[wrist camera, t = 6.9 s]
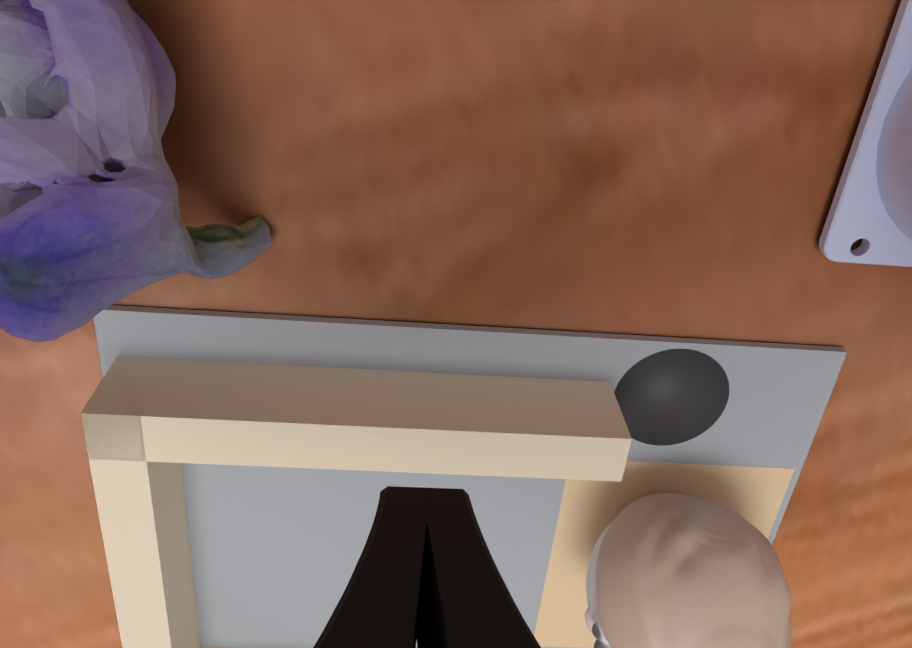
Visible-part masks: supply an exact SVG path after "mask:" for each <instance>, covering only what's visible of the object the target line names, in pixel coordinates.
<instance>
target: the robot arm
mask: <svg viewBox="0 0 912 648" xmlns="http://www.w3.org/2000/svg"><path fill="white" fill-rule="evenodd" d="M862 238H863V240H862V243H861V245H860V246H859V247H858V248H856V249H855V250H850V249H851V245H852V244H853V242H855V241H856V240H858V239H862ZM819 249H820V252H821V253H822V254H823V255H824V256H826V257H827V258H828V259H829V260H831V261H834V262H844V263H859V264H874V265H889V266H904V267H912V0H901V3H900V6H899V9H898V12H897V15H896V18H895V20H894V23H893V26H892V29H891V32H890V35H889V38H888V41H887V44H886V47H885V50H884V53H883V56H882V58H881V61H880V64H879V67H878V70H877V73H876V76H875V79H874V82H873V85H872V88H871V91H870V94H869V96H868V99H867V102H866V105H865V108H864V111H863V114H862V117H861V120H860V123H859V126H858V129H857V132H856V135H855V137H854V140H853V143H852V146H851V149H850V152H849V155H848V158H847V161H846V164H845V167H844V170H843V173H842V175H841V178H840V181H839V184H838V187H837V190H836V193H835V196H834V199H833V202H832V205H831V208H830V211H829V213H828V216H827V219H826V222H825V225H824V228H823V231H822V234H821V237H820V240H819ZM416 641H417V648H541V647H540V645H539V644H538V642H537V640H536V639H535V637H534V635H533V634H532V632H531V630H530V628H529V627H528V625H527V623H526V622H525V620H524V618H523V616H522V615H521V613H520V611H519V609H518V607H517V606H516V604H515V602H514V600H513V598H512V596H511V594H510V592H509V590H508V588H507V586H506V584H505V582H504V580H503V578H502V576H501V574H500V573H499V571H498V569H497V566H496V564H495V562H494V560H493V558H492V556H491V554H490V551H489V549H488V547H487V544H486V542H485V540H484V537H483V535H482V532H481V530H480V527H479V525H478V522H477V519H476V516H475V514H474V510H473V507H472V504H471V501H470V497H469V494H468V493H467V492H466V491H465V490H464V489H450V488H423V487H396V486H387V487H386V488H385V489H383V490H382V491H380V497H379V503H378V507H377V511H376V515H375V518H374V522H373V525H372V528H371V530H370V533H369V536H368V538H367V541H366V544H365V546H364V549H363V551H362V553H361V556H360V558H359V560H358V562H357V565H356V567H355V569H354V571H353V574H352V576H351V578H350V580H349V582H348V585H347V587H346V589H345V591H344V593H343V595H342V596H341V598H340V600H339V602H338V604H337V606H336V608H335V610H334V611H333V613H332V615H331V617H330V619H329V621H328V623H327V624H326V626H325V628H324V630H323V632H322V634H321V635H320V637H319V639H318V640H317V642H316V644H315V645H314V647H313V648H416Z"/></svg>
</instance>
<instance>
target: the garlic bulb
mask: <svg viewBox="0 0 912 648" xmlns="http://www.w3.org/2000/svg"><path fill="white" fill-rule="evenodd" d="M586 595H587V604H588V608H587V610H586V612H585V622H586V625H587V628H588V630H589V631H590V632H591V633H592V634H593V635H594V637H595V638H596V639H597V640H596V641H595V643H594V648H791V639H792V621H791V616H790V612H789V611H790V602H791V595H790V589H789V586H788V583H787V581H786V578H785V576H784V573H783V570H782V567H781V565H780V562H779V559H778V556H777V554H776V552H775V550H774V548H773V546H772V545H771V543H770V542H769V540H768V539H767V538H766V537H765V536H764V535H763V534H762V533H761V532H760V531H759V530H758V529H757V528H756V527H755V526H753V525H752V524H751V523H749V522H748V521H747V520H746V519H745V518H744V517H743V516H741V515H740V514H739V513H737V512H736V511H734V510H732V509H731V508H728V507H726V506H724V505H722V504H719V503H716V502H713V501H709V500H705V499H701V498H695V497H690V496H686V495H682V494H677V493H659V494H653V495H648V496H644V497H641V498H639V499H637V500H635V501H634V502H632V503H630V504H629V505H628V506H627V507H625V508H624V509H623V510H622V511H621V512H620V513H619V515H618V516H617V517H616V518H615V519H614V521H612V522H611V523H610V524H609V525H608V527H607V528H606V529H605V530H604V531H603V533H602V534H601V536H600V537H599V539H598V541H597V542H596V544H595V546H594V549H593V551H592V554H591V557H590V561H589V565H588V570H587V578H586Z"/></svg>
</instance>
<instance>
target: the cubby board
mask: <svg viewBox="0 0 912 648" xmlns="http://www.w3.org/2000/svg"><path fill="white" fill-rule="evenodd" d="M93 318H94V324H95V330H96V337H97V343H98V349H99V356H100V362H101V368H102V375H103V379H102V381H101V382H100V384H99V385H98V387H97V388H96V390H95V392H94V393H93V395H92V396H91V398H90V399H89V401H88V402H87V404H86V406H85V407H84V409H83V410H82V412H81V419H82V424H83V430H84V435H85V441H86V446H87V452H88V458H89V463H90V469H91V474H92V480H93V486H94V491H95V497H96V502H97V508H98V513H99V519H100V525H101V530H102V536H103V541H104V547H105V553H106V558H107V564H108V569H109V575H110V581H111V586H112V592H113V597H114V603H115V608H116V614H117V620H118V625H119V631H120V636H121V642H122V648H313V647H314V645H315V644H316V642H317V640H318V639H319V637H320V635H321V634H322V632H323V630H324V628H325V626H326V624H327V623H328V621H329V619H330V617H331V615H332V613H333V611H334V610H335V608H336V606H337V604H338V602H339V600H340V598H341V596H342V595H343V593H344V591H345V589H346V587H347V585H348V582H349V580H350V578H351V576H352V574H353V571H354V569H355V567H356V565H357V562H358V560H359V558H360V556H361V553H362V551H363V549H364V546H365V544H366V541H367V538H368V536H369V533H370V530H371V528H372V525H373V522H374V518H375V515H376V511H377V507H378V503H379V497H380V491H382V490H383V489H385V488H386V487H387V486H396V487H423V488H450V489H464V490H465V491H466V492H467V493H468V494H469V497H470V501H471V504H472V507H473V510H474V514H475V516H476V519H477V522H478V525H479V527H480V530H481V532H482V535H483V537H484V540H485V542H486V544H487V547H488V549H489V551H490V554H491V556H492V558H493V560H494V562H495V564H496V566H497V569H498V571H499V573H500V574H501V576H502V578H503V580H504V582H505V584H506V586H507V588H508V590H509V592H510V594H511V596H512V598H513V600H514V602H515V604H516V606H517V607H518V609H519V611H520V613H521V615H522V616H523V618H524V620H525V622H526V623H527V625H528V627H529V628H530V630H531V632H532V634H533V635H534V637H535V639H536V640H537V642H538V644H539V645H540V647H541V648H594V643H595V641H596V640H597V639H596V638H595V637H594V635H593V634H592V633H591V632H590V631H589V630H588V628H587V625H586V622H585V612H586V610H587V608H588V604H587V595H586V578H587V570H588V565H589V561H590V557H591V554H592V551H593V549H594V546H595V544H596V542H597V541H598V539H599V537H600V536H601V534H602V533H603V531H604V530H605V529H606V528H607V527H608V525H609V524H610V523H611V522H612V521H614V519H615V518H616V517H617V516H618V515H619V513H620V512H621V511H622V510H623V509H624V508H625V507H627V506H628V505H629V504H630V503H632V502H634V501H635V500H637V499H639V498H641V497H644V496H648V495H653V494H659V493H677V494H682V495H686V496H690V497H695V498H701V499H705V500H709V501H713V502H716V503H719V504H722V505H724V506H726V507H728V508H731V509H732V510H734V511H736V512H737V513H739V514H740V515H741V516H743V517H744V518H745V519H746V520H747V521H748V522H749V523H751V524H752V525H753V526H755V527H756V528H757V529H758V530H759V531H760V532H761V533H762V534H763V535H764V536H765V537H766V538H767V539H768V540H769V542H770V543H771V545H772V544H773V541H774V539H775V536H776V533H777V531H778V528H779V526H780V523H781V521H782V518H783V515H784V513H785V510H786V508H787V505H788V503H789V500H790V498H791V495H792V492H793V490H794V487H795V485H796V482H797V480H798V477H799V475H800V472H801V469H802V467H803V464H804V462H805V459H806V457H807V454H808V451H809V449H810V446H811V444H812V441H813V439H814V436H815V434H816V431H817V428H818V426H819V423H820V421H821V418H822V416H823V413H824V410H825V408H826V405H827V403H828V400H829V398H830V395H831V393H832V390H833V387H834V385H835V382H836V380H837V377H838V375H839V372H840V370H841V367H842V364H843V362H844V359H845V357H846V354H847V351H846V350H845V349H844V348H843V347H833V346H816V345H799V344H781V343H764V342H746V341H729V340H712V339H694V338H677V337H659V336H642V335H624V334H607V333H590V332H572V331H555V330H537V329H520V328H503V327H485V326H468V325H450V324H433V323H415V322H398V321H381V320H363V319H346V318H328V317H311V316H294V315H276V314H259V313H241V312H224V311H206V310H189V309H172V308H154V307H137V306H119V305H111V306H109V307H108V308H106V309H104V310H103V311H101V312H100V313H98V314H97V315H96V316H95V317H93ZM416 648H417V641H416Z"/></svg>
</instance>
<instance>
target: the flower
mask: <svg viewBox="0 0 912 648" xmlns="http://www.w3.org/2000/svg"><path fill="white" fill-rule="evenodd" d="M175 93H176V78H175V71H174V69H173V67H172V65H171V63H170V61H169V59H168V56H167V54H166V52H165V51H164V49H163V47H162V46H161V44H160V43H159V41H158V40H157V38H156V37H155V35H154V34H153V32H152V31H151V29H150V28H149V27H148V25H147V24H146V23H145V22H144V21H143V20H142V19H141V18H140V17H139V16H138V15H137V14H136V13H135V12H134V10H133V9H132V8H131V7H130V5H129V3H128V1H127V0H0V328H1V329H3V330H4V331H6V332H7V333H9V334H10V335H12V336H15V337H19V338H23V339H26V340H30V341H34V342H43V341H50V340H55V339H57V338H59V337H60V336H62V335H64V334H66V333H68V332H70V331H72V330H75V329H77V328H79V327H81V326H83V325H84V324H86V323H87V322H88V321H90V320H91V319H92V318H93V317H95V316H96V315H97V314H98V313H100V312H101V311H103V310H104V309H106V308H108V307H109V306H111V305H113V304H115V303H116V302H118V301H120V300H122V299H123V298H125V297H127V296H128V295H130V294H132V293H134V292H135V291H137V290H139V289H142V288H144V287H146V286H148V285H150V284H152V283H154V282H156V281H159V280H161V279H164V278H168V277H171V276H174V275H177V274H180V273H183V272H188V273H190V274H191V275H195V276H200V277H204V278H209V279H214V278H220V277H223V276H226V275H229V274H231V273H234V272H237V271H238V270H240V269H242V268H243V267H245V266H246V265H248V264H250V263H251V262H252V261H253V260H255V259H256V258H257V257H258V256H260V255H261V254H262V253H263V252H265V251H266V250H267V249H268V248H270V246H271V242H272V241H271V234H270V229H269V226H268V224H267V223H266V222H265V221H264V220H263V218H262V217H261V215H259V216H257V217H255V218H252V219H250V220H249V221H247V222H245V223H243V224H241V225H240V226H227V225H219V224H210V225H206V226H202V227H187V226H185V225H184V223H183V221H182V219H181V215H180V207H179V200H178V184H177V181H176V179H175V177H174V175H173V173H172V171H171V169H170V167H169V165H168V163H167V161H166V159H165V157H164V153H163V149H162V144H161V138H162V136H163V133H164V131H165V128H166V126H167V124H168V121H169V119H170V116H171V114H172V112H173V109H174V104H175Z"/></svg>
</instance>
